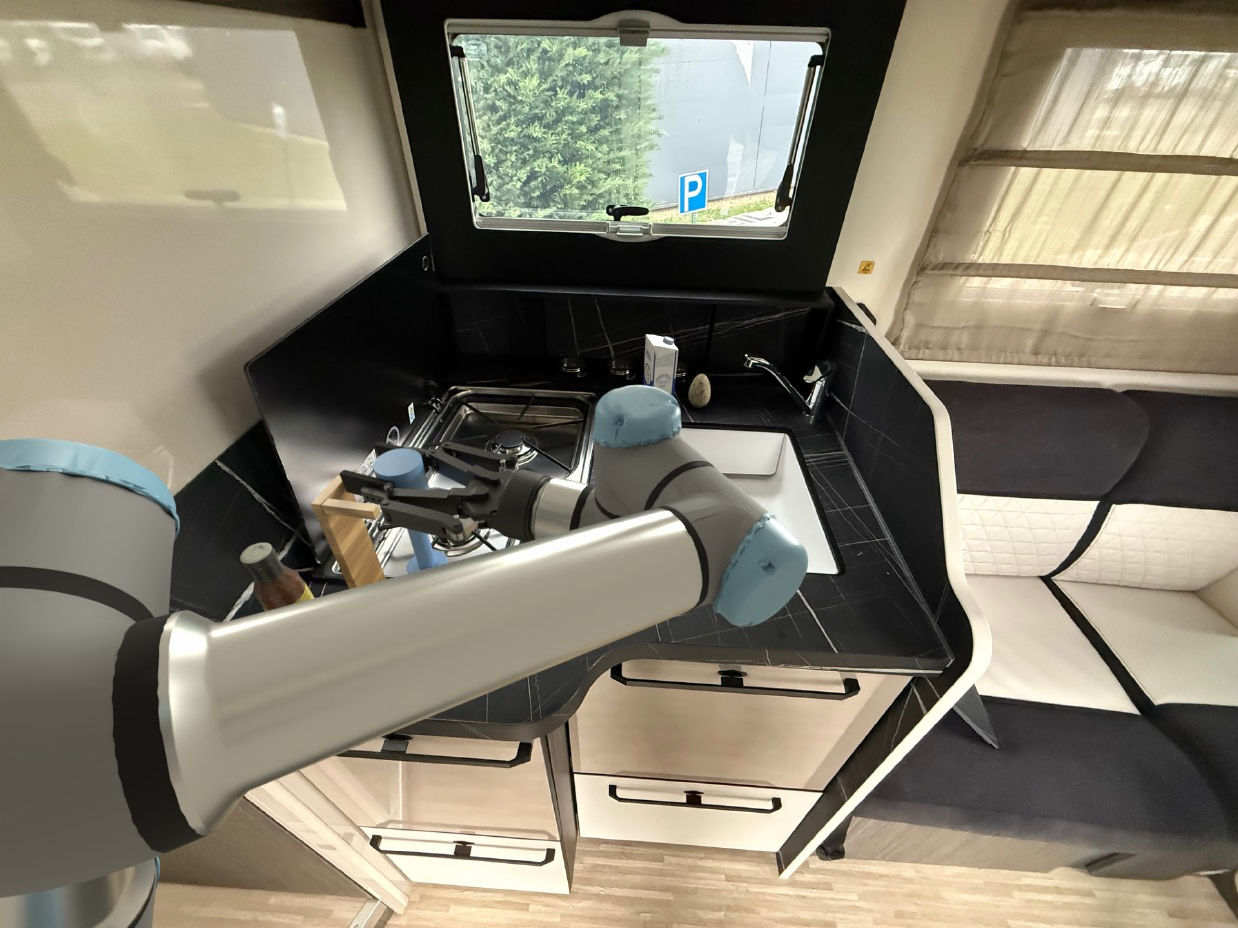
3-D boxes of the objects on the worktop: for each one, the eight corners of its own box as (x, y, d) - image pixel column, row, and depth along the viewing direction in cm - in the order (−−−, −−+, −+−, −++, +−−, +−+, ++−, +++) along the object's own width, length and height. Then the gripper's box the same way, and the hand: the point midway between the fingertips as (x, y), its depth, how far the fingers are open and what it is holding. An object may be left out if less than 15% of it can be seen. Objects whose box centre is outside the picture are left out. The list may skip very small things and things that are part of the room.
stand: (442, 610, 90) (401, 474, 71) (418, 658, 82) (365, 520, 64) (390, 602, 91) (336, 467, 72) (361, 649, 83) (294, 511, 65)
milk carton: (642, 400, 147) (645, 333, 135) (664, 397, 149) (670, 331, 137) (649, 412, 142) (653, 344, 130) (672, 410, 143) (679, 342, 131)
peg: (416, 590, 67) (380, 481, 56) (402, 565, 70) (366, 458, 59) (454, 572, 69) (428, 465, 58) (440, 548, 72) (412, 443, 62)
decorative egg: (698, 398, 149) (702, 367, 143) (713, 407, 145) (717, 375, 139) (682, 405, 146) (686, 373, 140) (697, 414, 142) (702, 381, 136)
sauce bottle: (322, 610, 89) (278, 527, 77) (335, 634, 85) (291, 550, 73) (280, 632, 85) (227, 549, 73) (292, 658, 82) (238, 574, 70)
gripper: (508, 597, 51) (315, 541, 56) (576, 485, 65) (416, 449, 70) (499, 544, 47) (290, 488, 52) (574, 436, 60) (403, 401, 66)
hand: (363, 466), depth 61 cm, fingers closed on peg, 5 cm apart
